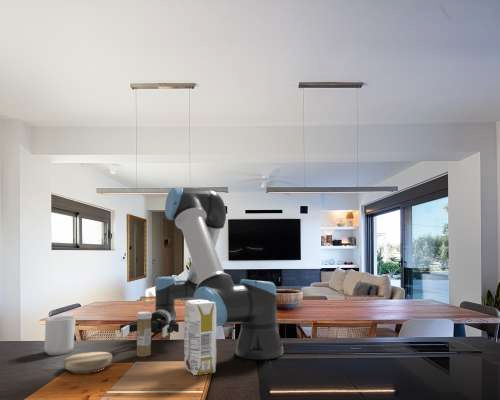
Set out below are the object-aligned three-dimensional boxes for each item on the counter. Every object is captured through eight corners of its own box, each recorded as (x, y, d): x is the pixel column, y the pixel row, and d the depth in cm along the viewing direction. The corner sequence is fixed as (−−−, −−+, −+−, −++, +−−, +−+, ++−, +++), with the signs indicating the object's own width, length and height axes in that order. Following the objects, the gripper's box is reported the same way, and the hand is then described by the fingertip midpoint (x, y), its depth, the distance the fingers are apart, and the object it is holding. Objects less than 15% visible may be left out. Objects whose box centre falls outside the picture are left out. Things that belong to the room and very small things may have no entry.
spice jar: (133, 355, 131) (134, 312, 132) (145, 352, 134) (145, 310, 136) (142, 357, 128) (142, 313, 129) (154, 354, 131) (154, 311, 133)
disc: (117, 369, 116) (118, 358, 116) (68, 378, 108) (69, 366, 109) (105, 359, 126) (105, 349, 127) (59, 367, 119) (59, 356, 119)
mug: (62, 356, 131) (63, 320, 133) (38, 355, 133) (39, 320, 134) (84, 347, 143) (85, 314, 144) (62, 346, 145) (63, 314, 146)
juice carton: (193, 378, 107) (193, 304, 109) (181, 369, 114) (182, 300, 116) (219, 373, 111) (219, 302, 112) (206, 364, 118) (206, 298, 120)
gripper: (192, 331, 152) (181, 344, 131) (125, 332, 152) (104, 345, 131) (192, 310, 153) (181, 320, 132) (125, 311, 153) (104, 321, 132)
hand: (142, 333), depth 131 cm, fingers open, 13 cm apart
